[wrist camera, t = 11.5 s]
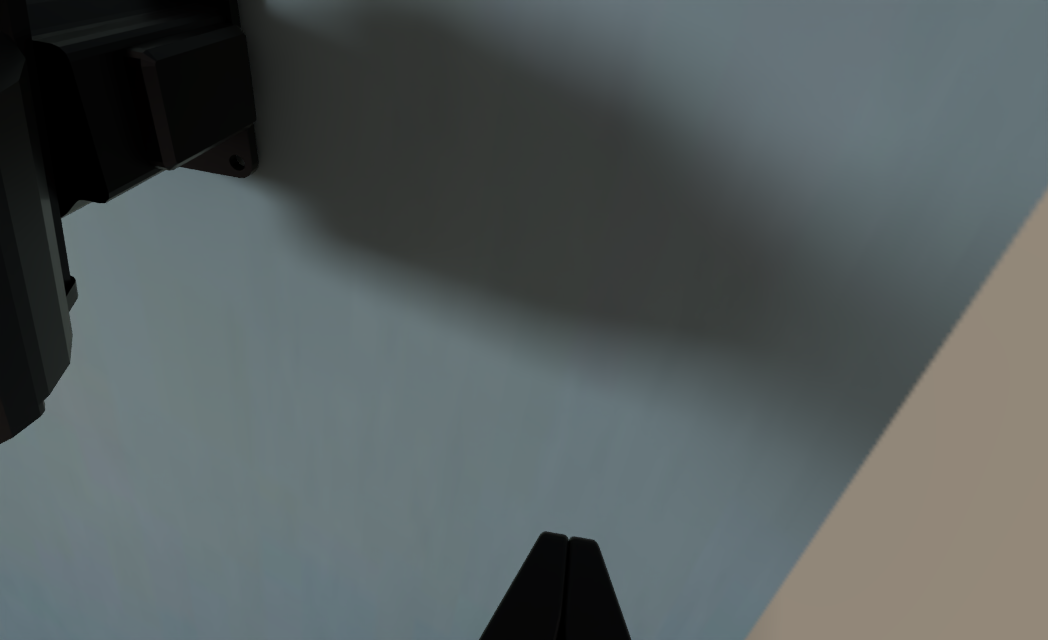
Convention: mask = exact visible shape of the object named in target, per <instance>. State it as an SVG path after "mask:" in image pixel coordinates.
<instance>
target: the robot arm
mask: <svg viewBox="0 0 1048 640" xmlns="http://www.w3.org/2000/svg"><path fill="white" fill-rule="evenodd" d="M255 121H256V111H255V103H254V95H253V88H252V80H251V72H250V65H249V57H248V49H247V42H246V36H245V34H244V32H243V31H242V29H241V26H240V18H239V11H238V3H237V0H0V444H1V443H3V442H5V441H7V440H9V439H11V438H13V437H14V436H15V435H17V434H18V433H19V432H21V431H22V430H23V429H25V428H26V427H27V426H29V425H30V424H31V423H33V422H34V421H35V420H37V419H38V418H39V417H40V416H41V415H42V414H43V413H44V411H45V403H44V400H45V399H46V398H47V397H48V396H49V395H50V393H51V392H52V390H53V389H54V387H55V386H56V384H57V383H58V381H59V379H60V378H61V376H62V375H63V373H64V372H65V370H66V369H67V367H68V366H69V364H70V358H71V347H72V336H73V334H72V328H71V322H70V316H69V311H70V310H71V308H72V306H73V305H74V303H75V302H76V300H77V298H78V292H77V285H76V280H75V278H74V277H72V276H70V272H69V265H68V259H67V253H66V247H65V241H64V234H63V228H62V222H61V218H63V217H65V216H67V215H69V214H71V213H72V212H74V211H76V210H78V209H80V208H82V207H84V206H86V205H87V204H89V203H91V202H96V203H106V202H108V201H110V200H112V199H114V198H115V197H117V196H119V195H121V194H123V193H124V192H126V191H128V190H130V189H132V188H134V187H135V186H137V185H139V184H141V183H143V182H144V181H146V180H148V179H150V178H152V177H154V176H155V175H157V174H159V173H161V172H163V171H165V170H174V169H176V168H178V167H184V168H189V169H194V170H200V171H205V172H211V173H216V174H221V175H227V176H232V177H238V178H245V177H247V176H249V175H251V174H252V173H254V172H255V171H256V170H257V168H258V164H259V160H258V153H257V145H256V138H255V130H254V122H255ZM236 155H237V156H240V157H241V158H242V159H243V161H244V163H245V166H243V165H241V164H240V163H239V162H238V161H237V158H236ZM479 640H631V637H630V635H629V632H628V629H627V626H626V623H625V620H624V617H623V614H622V611H621V608H620V606H619V603H618V600H617V597H616V594H615V591H614V588H613V585H612V582H611V580H610V577H609V574H608V571H607V568H606V565H605V562H604V559H603V556H602V554H601V551H600V548H599V546H598V544H597V542H596V541H594V540H592V539H586V538H580V537H571V538H570V539H568V537H567V536H566V535H564V534H558V533H552V532H547V531H545V532H543V533H541V534H540V536H539V537H538V539H537V541H536V543H535V544H534V546H533V548H532V549H531V551H530V553H529V555H528V556H527V558H526V560H525V561H524V563H523V565H522V567H521V568H520V570H519V572H518V573H517V575H516V577H515V579H514V580H513V582H512V584H511V586H510V587H509V589H508V591H507V592H506V594H505V596H504V598H503V599H502V601H501V603H500V604H499V606H498V608H497V610H496V611H495V613H494V615H493V616H492V618H491V620H490V622H489V623H488V625H487V627H486V628H485V630H484V632H483V634H482V635H481V637H480V639H479Z"/></svg>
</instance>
